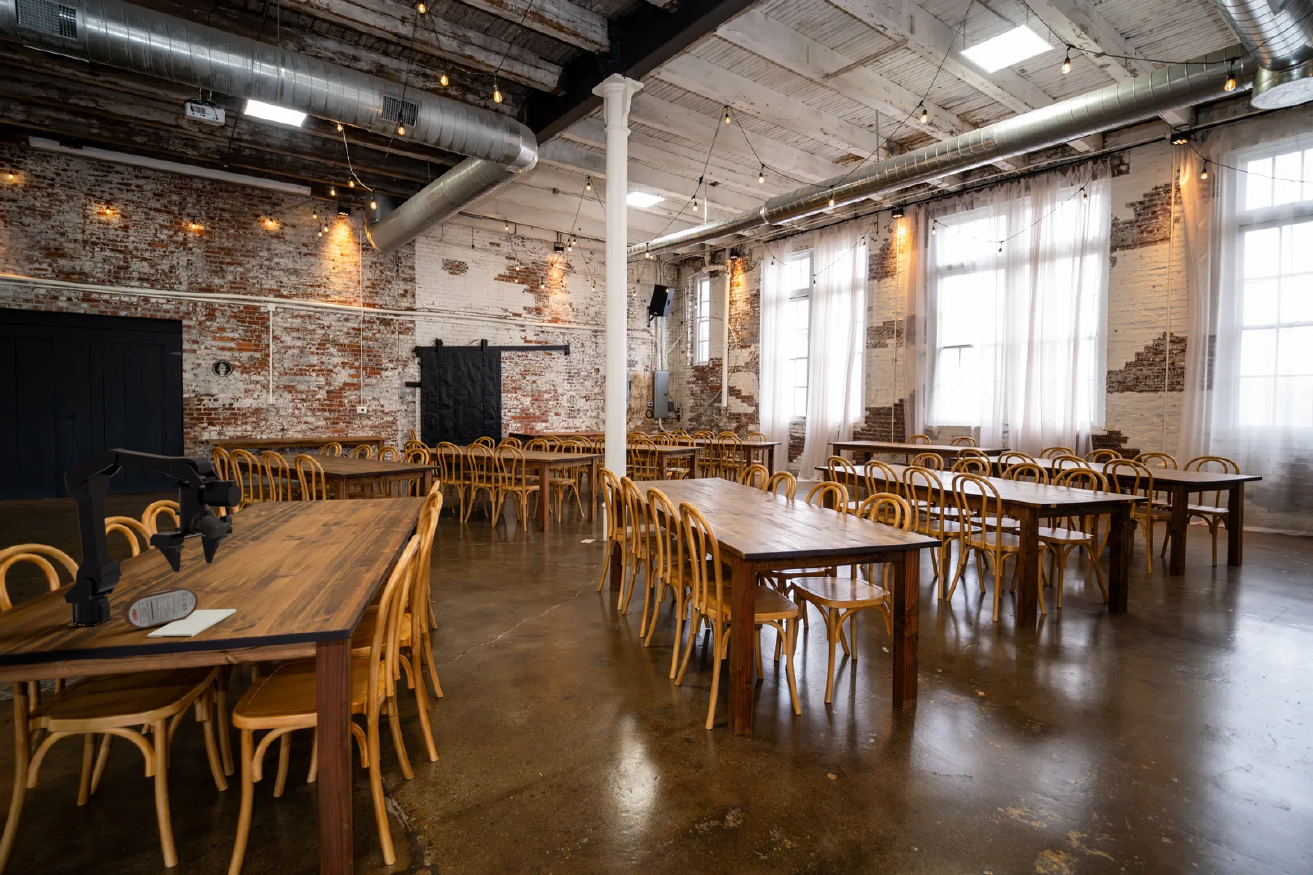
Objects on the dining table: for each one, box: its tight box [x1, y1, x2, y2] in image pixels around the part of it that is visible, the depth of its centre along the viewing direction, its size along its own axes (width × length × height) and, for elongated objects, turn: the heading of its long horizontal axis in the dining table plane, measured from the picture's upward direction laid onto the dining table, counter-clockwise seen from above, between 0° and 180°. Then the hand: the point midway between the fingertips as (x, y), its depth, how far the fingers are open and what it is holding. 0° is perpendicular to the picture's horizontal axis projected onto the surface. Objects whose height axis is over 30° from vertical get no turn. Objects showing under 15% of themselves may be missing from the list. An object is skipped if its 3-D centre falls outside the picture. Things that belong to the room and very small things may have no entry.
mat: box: [146, 608, 237, 638], centre depth 163 cm, size 10×19×1 cm, turn 5°
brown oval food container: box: [122, 585, 199, 629], centre depth 161 cm, size 15×3×8 cm, turn 140°
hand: (193, 567), depth 164 cm, fingers open, 9 cm apart
